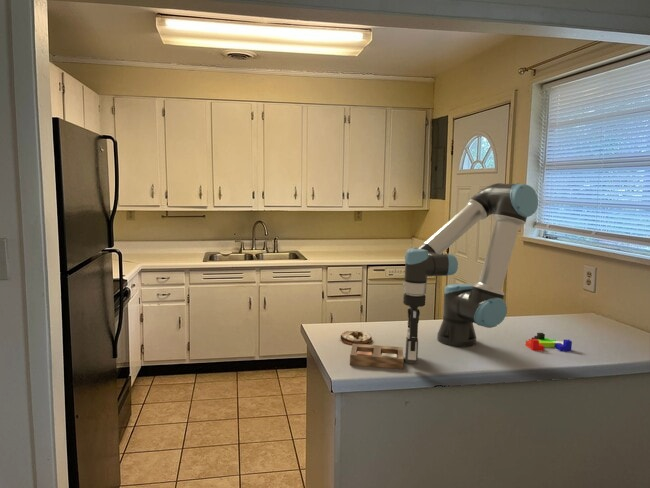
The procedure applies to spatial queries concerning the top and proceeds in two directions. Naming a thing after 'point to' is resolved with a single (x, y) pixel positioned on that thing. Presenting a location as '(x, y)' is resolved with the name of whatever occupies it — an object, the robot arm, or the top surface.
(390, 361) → the socket board
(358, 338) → the bagel
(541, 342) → the building blocks
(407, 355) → the plug
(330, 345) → the top surface
